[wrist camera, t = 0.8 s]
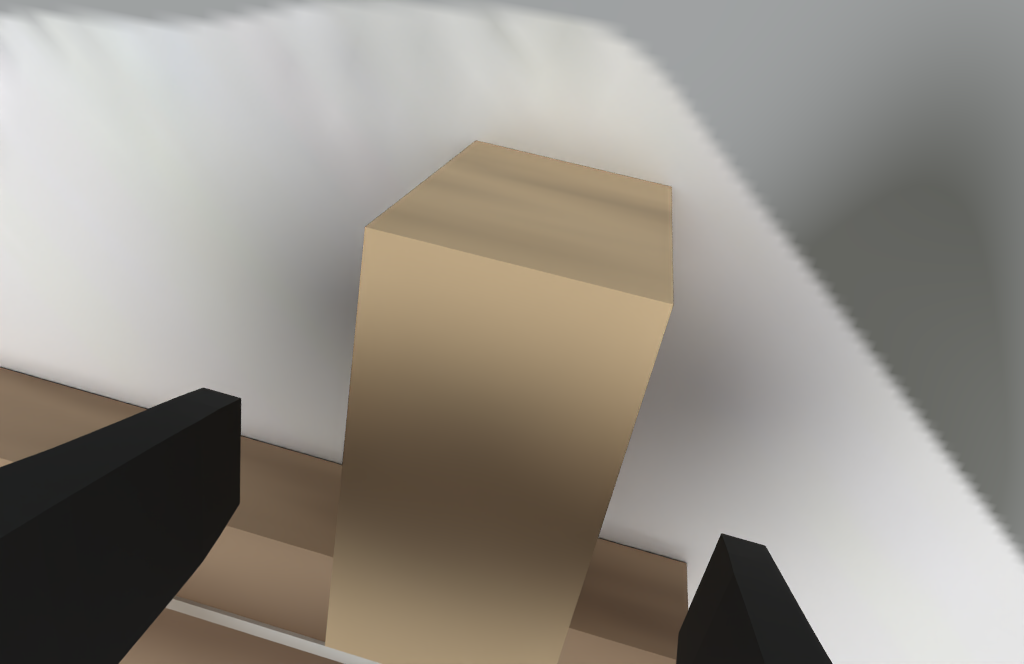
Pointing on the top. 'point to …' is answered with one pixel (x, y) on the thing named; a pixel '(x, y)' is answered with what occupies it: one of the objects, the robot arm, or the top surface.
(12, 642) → the robot arm
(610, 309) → the light wood pillar
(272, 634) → the walnut plank
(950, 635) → the top surface
